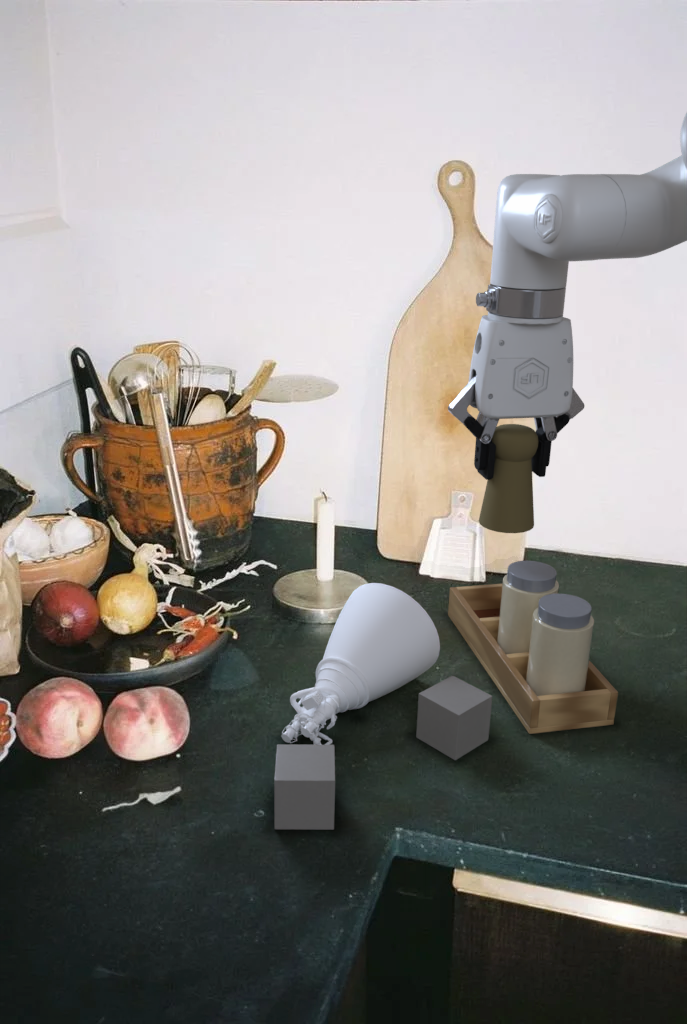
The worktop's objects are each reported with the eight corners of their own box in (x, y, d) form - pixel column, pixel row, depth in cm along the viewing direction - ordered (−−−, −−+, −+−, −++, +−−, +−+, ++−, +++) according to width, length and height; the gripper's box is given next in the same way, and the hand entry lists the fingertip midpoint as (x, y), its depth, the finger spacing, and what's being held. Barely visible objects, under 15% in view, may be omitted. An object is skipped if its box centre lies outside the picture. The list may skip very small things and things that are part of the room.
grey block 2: (488, 740, 91) (492, 695, 89) (455, 760, 88) (458, 715, 86) (449, 718, 95) (452, 675, 93) (415, 737, 91) (418, 693, 90)
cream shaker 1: (558, 670, 103) (569, 579, 99) (507, 675, 101) (516, 584, 97) (537, 644, 108) (546, 557, 104) (487, 648, 107) (495, 560, 103)
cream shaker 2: (593, 712, 95) (606, 616, 91) (538, 718, 94) (549, 620, 90) (567, 681, 101) (579, 589, 97) (515, 687, 99) (525, 593, 95)
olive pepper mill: (478, 530, 101) (485, 432, 97) (479, 511, 106) (486, 417, 102) (535, 535, 100) (545, 436, 96) (533, 515, 105) (542, 420, 101)
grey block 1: (334, 829, 79) (335, 780, 77) (274, 829, 79) (274, 780, 77) (333, 791, 83) (334, 744, 82) (277, 791, 83) (277, 744, 81)
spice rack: (516, 609, 118) (519, 581, 116) (613, 724, 94) (618, 692, 93) (447, 615, 116) (449, 587, 114) (529, 734, 92) (532, 701, 91)
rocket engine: (288, 673, 83) (391, 567, 96) (226, 704, 92) (329, 603, 104) (367, 773, 84) (460, 655, 96) (299, 794, 92) (393, 684, 105)
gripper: (457, 311, 89) (446, 490, 96) (621, 308, 93) (599, 481, 99) (433, 299, 96) (424, 467, 103) (587, 297, 100) (569, 460, 106)
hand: (510, 472), depth 101 cm, fingers closed on olive pepper mill, 5 cm apart
